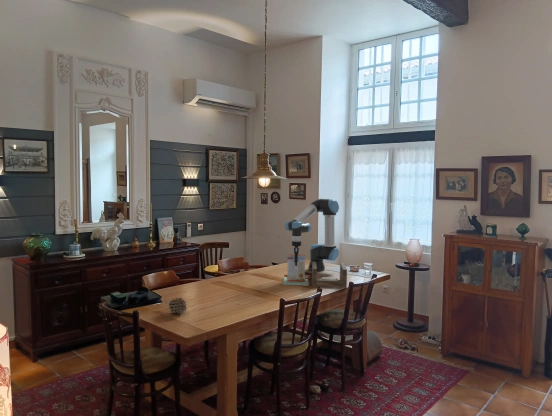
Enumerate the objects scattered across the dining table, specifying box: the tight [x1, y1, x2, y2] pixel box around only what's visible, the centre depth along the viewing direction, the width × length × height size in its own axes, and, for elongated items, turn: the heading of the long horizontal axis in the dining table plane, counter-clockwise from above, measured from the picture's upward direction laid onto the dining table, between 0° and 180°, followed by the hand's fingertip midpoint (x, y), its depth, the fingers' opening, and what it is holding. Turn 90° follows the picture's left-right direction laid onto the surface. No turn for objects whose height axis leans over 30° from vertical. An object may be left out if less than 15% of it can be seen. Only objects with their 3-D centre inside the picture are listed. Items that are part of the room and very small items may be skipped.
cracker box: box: [286, 254, 306, 281], centre depth 346 cm, size 14×6×21 cm, turn 86°
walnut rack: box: [311, 262, 348, 289], centre depth 343 cm, size 26×26×14 cm
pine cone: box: [165, 297, 188, 314], centre depth 266 cm, size 22×10×10 cm, turn 49°
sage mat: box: [282, 276, 310, 287], centre depth 347 cm, size 24×20×1 cm
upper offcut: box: [320, 276, 338, 280], centre depth 340 cm, size 6×12×2 cm, turn 67°
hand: (296, 268), depth 346 cm, fingers open, 10 cm apart
